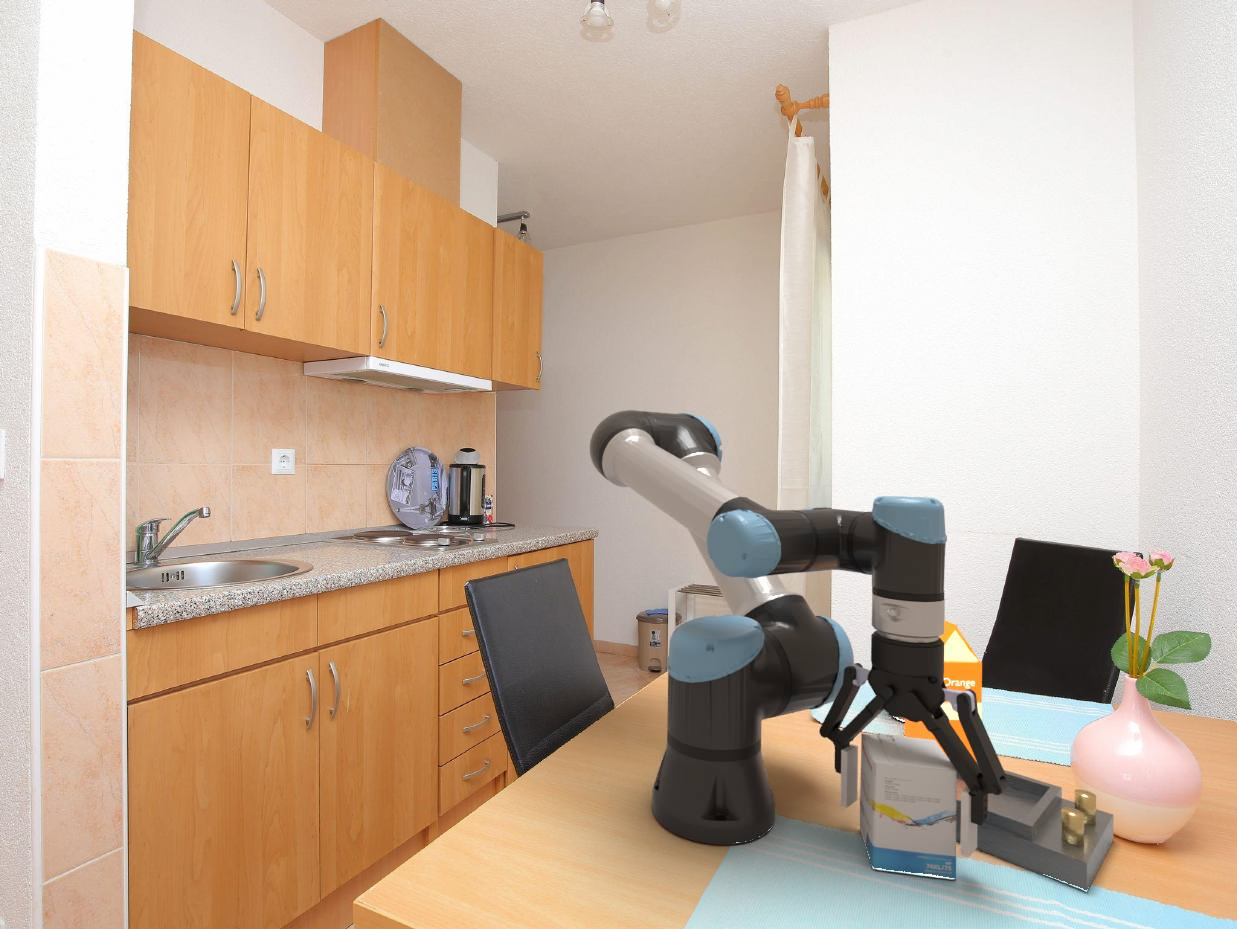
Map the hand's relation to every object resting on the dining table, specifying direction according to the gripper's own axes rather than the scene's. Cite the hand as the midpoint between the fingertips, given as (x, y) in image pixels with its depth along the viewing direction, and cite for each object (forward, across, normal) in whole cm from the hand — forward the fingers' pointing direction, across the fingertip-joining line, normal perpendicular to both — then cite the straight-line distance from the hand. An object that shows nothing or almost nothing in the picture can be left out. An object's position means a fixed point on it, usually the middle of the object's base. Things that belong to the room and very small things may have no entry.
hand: (904, 825), depth 72 cm
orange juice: (+3, -8, +33) cm, 34 cm away
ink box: (+3, 0, 0) cm, 3 cm away
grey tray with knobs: (+3, +5, +14) cm, 15 cm away
